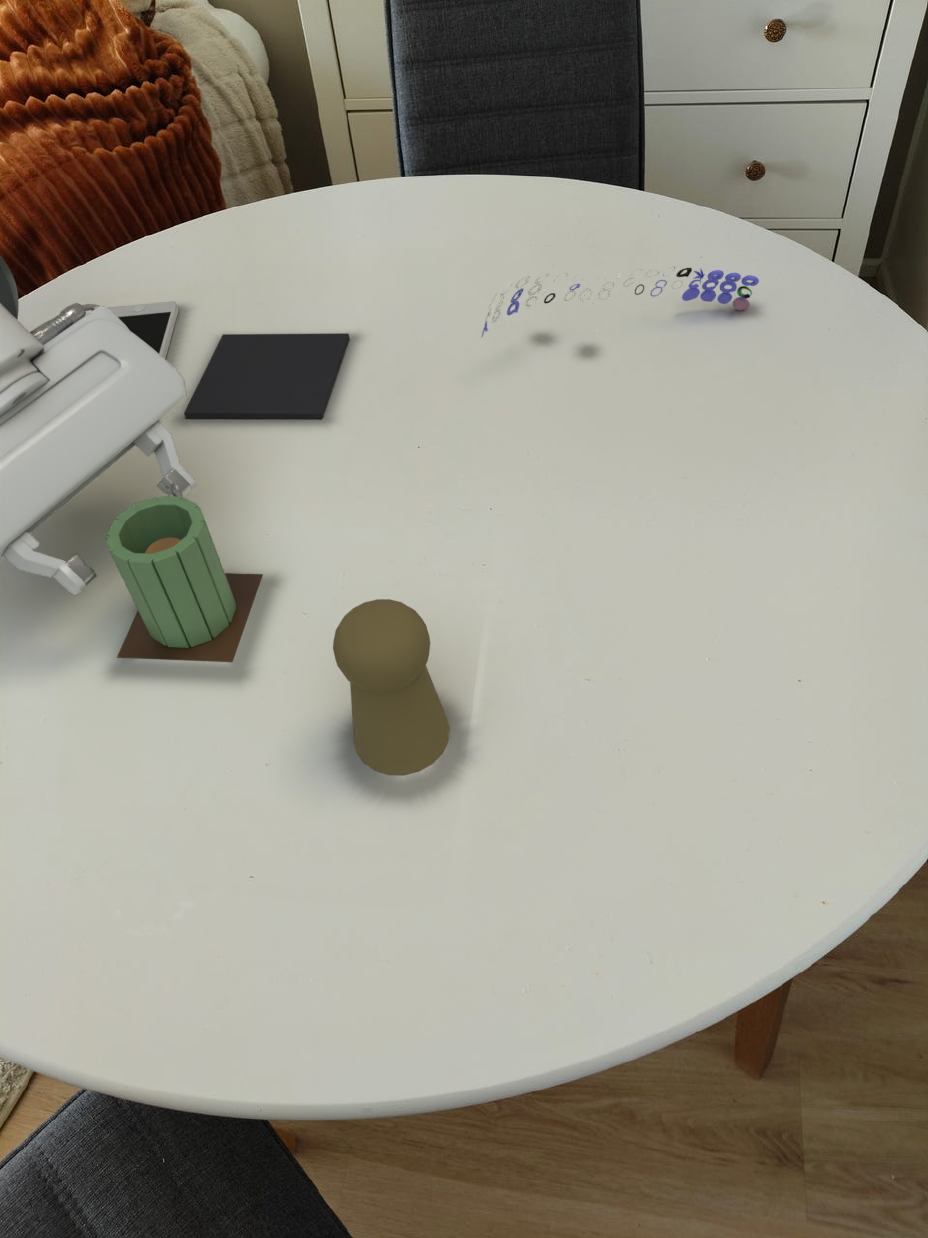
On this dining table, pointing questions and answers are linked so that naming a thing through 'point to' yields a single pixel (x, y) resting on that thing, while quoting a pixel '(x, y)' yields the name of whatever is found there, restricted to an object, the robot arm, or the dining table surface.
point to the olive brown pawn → (391, 687)
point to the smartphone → (150, 322)
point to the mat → (269, 376)
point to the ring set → (689, 294)
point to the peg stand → (214, 651)
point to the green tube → (172, 571)
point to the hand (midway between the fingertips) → (138, 538)
